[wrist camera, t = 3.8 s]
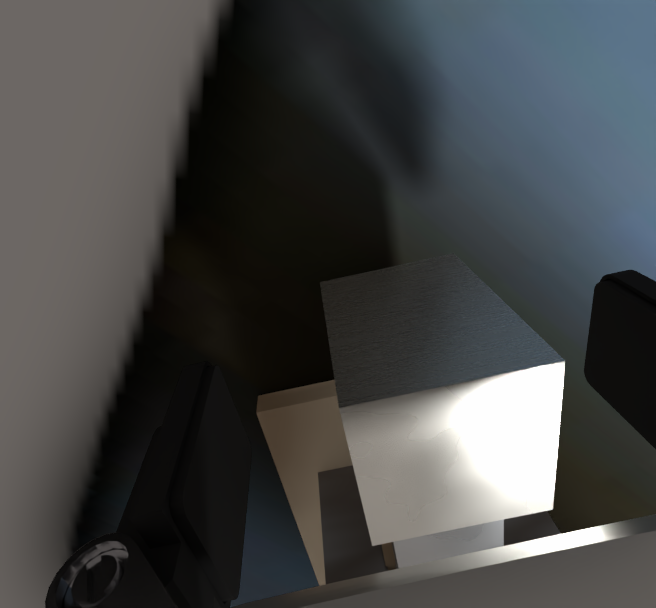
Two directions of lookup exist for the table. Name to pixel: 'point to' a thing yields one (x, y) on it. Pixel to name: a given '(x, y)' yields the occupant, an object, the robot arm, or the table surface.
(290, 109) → the table surface
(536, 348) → the block ended bar
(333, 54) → the table surface
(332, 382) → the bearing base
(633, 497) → the table surface
